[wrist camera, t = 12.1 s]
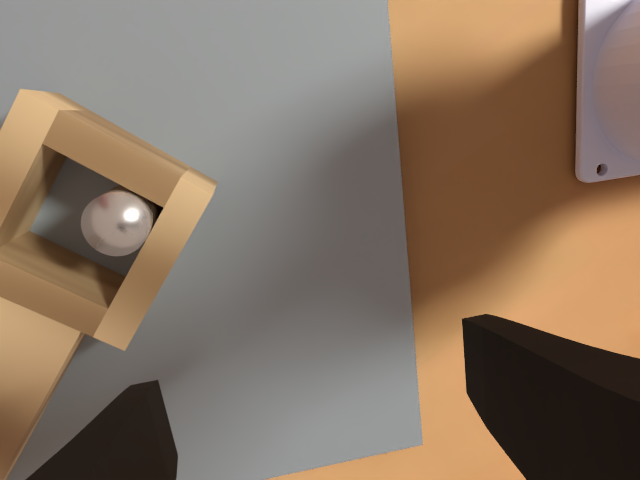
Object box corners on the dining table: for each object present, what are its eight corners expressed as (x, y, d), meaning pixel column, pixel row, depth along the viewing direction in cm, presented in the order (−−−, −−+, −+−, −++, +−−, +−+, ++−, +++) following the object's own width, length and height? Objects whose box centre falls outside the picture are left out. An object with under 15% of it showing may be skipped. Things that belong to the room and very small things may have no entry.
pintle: (163, 172, 19) (140, 189, 14) (174, 219, 19) (154, 250, 15) (113, 179, 18) (73, 199, 14) (124, 227, 19) (89, 260, 15)
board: (375, -55, 18) (382, -65, 17) (415, 431, 23) (422, 444, 22) (-305, 8, 15) (-341, 0, 14) (-74, 536, 21) (-89, 556, 20)
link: (59, 93, 16) (20, 88, 14) (217, 181, 18) (213, 194, 15) (-114, 440, 18) (-179, 500, 16) (42, 493, 20) (8, 556, 17)
